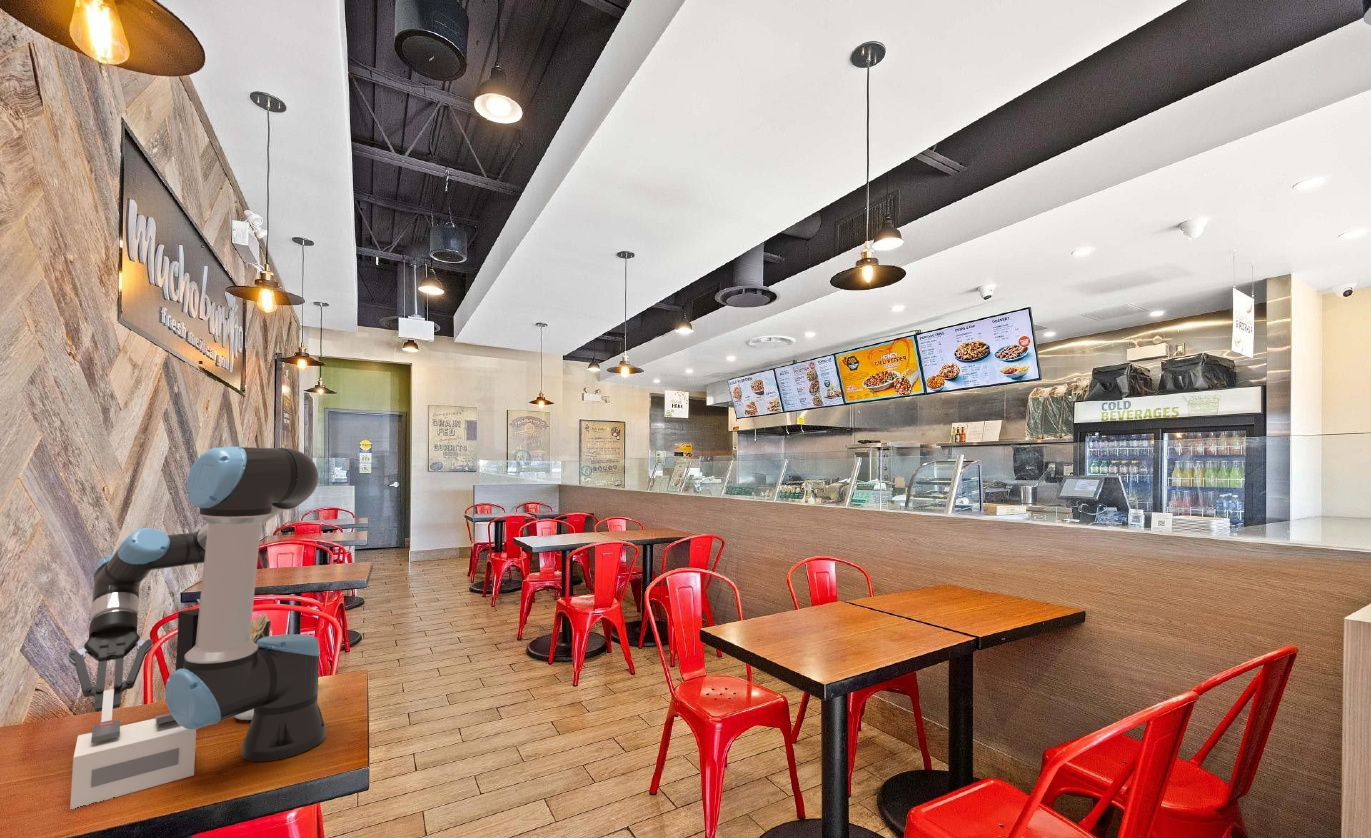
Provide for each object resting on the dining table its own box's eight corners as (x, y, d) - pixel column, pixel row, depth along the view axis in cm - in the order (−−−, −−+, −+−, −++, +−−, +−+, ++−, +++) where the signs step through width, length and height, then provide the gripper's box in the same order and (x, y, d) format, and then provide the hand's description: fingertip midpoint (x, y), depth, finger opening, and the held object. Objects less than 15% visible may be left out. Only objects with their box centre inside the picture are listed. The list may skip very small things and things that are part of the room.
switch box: (74, 784, 114) (78, 733, 115) (189, 754, 126) (191, 708, 126) (69, 810, 105) (73, 755, 106) (193, 775, 117) (196, 726, 117)
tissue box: (172, 714, 146) (178, 598, 148) (210, 702, 153) (215, 592, 155) (188, 720, 143) (194, 601, 145) (225, 708, 150) (231, 595, 152)
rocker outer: (92, 730, 114) (93, 725, 114) (120, 724, 117) (120, 719, 117) (91, 743, 110) (91, 737, 110) (119, 736, 112) (119, 730, 112)
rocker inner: (155, 721, 120) (155, 715, 120) (180, 715, 123) (180, 710, 123) (156, 723, 116) (156, 717, 116) (181, 718, 119) (182, 712, 119)
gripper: (153, 623, 135) (149, 723, 122) (71, 634, 127) (58, 744, 113) (155, 604, 132) (152, 705, 119) (71, 614, 123) (57, 725, 110)
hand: (106, 724), depth 116 cm, fingers closed
